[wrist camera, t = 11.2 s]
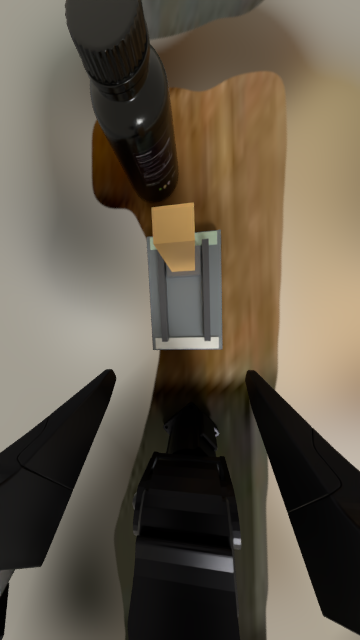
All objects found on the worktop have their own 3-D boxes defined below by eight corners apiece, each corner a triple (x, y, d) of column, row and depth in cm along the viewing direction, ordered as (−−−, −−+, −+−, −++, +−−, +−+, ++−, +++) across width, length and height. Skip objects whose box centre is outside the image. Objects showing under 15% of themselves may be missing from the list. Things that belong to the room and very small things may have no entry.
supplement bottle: (123, 174, 21) (27, -4, 9) (161, 141, 20) (111, -109, 8) (149, 215, 21) (88, 93, 9) (188, 184, 20) (179, 1, 8)
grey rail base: (220, 346, 22) (224, 352, 19) (155, 347, 23) (150, 352, 20) (218, 235, 20) (222, 224, 17) (149, 241, 21) (143, 232, 18)
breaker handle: (200, 276, 19) (205, 247, 10) (168, 278, 20) (144, 252, 10) (199, 248, 19) (203, 192, 10) (167, 251, 19) (141, 200, 10)
